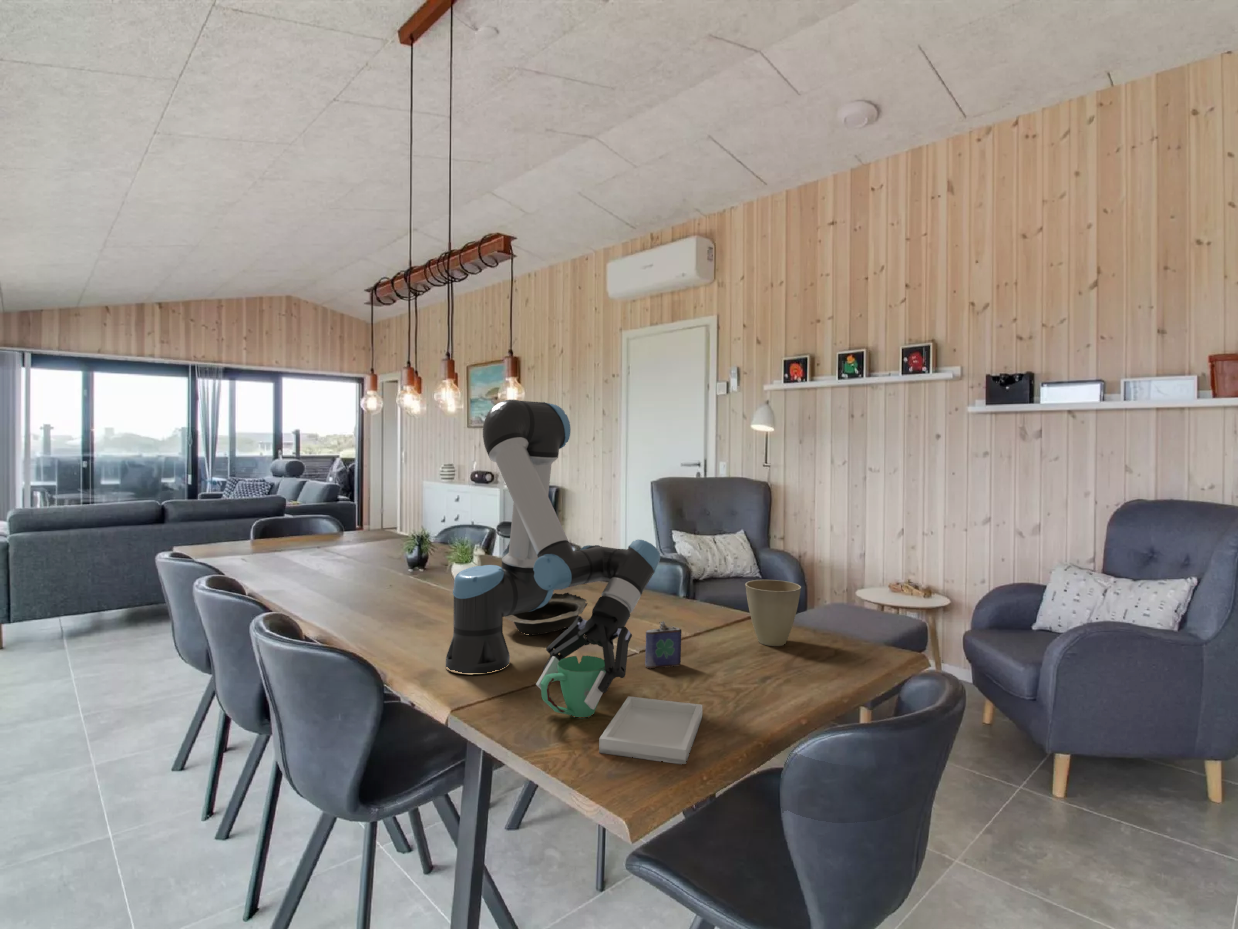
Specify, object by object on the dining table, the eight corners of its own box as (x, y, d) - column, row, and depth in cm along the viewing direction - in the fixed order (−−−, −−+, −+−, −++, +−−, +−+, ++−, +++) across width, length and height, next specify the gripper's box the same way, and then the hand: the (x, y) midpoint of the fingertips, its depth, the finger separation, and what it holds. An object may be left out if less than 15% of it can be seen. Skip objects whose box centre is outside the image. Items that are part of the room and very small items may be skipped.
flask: (647, 669, 153) (647, 624, 153) (643, 665, 156) (643, 621, 156) (682, 666, 156) (683, 622, 156) (677, 662, 159) (678, 619, 159)
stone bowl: (592, 620, 197) (593, 590, 196) (579, 651, 172) (580, 617, 172) (514, 616, 200) (514, 587, 199) (490, 646, 175) (490, 613, 174)
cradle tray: (599, 752, 110) (599, 738, 110) (628, 708, 129) (628, 696, 129) (685, 764, 106) (685, 749, 106) (702, 717, 125) (702, 704, 125)
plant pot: (733, 638, 179) (734, 582, 179) (774, 632, 186) (775, 578, 186) (769, 653, 166) (769, 592, 166) (811, 646, 173) (812, 587, 173)
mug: (584, 699, 134) (584, 652, 133) (616, 714, 126) (617, 663, 126) (526, 719, 123) (527, 668, 123) (558, 736, 116) (558, 681, 116)
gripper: (670, 625, 128) (621, 723, 117) (581, 605, 144) (531, 690, 133) (655, 603, 124) (602, 703, 113) (565, 586, 140) (511, 671, 129)
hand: (563, 696), depth 123 cm, fingers open, 12 cm apart
